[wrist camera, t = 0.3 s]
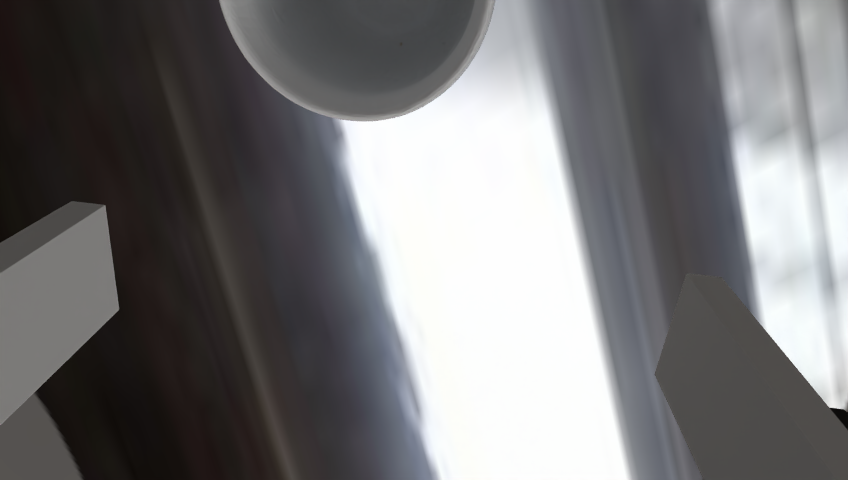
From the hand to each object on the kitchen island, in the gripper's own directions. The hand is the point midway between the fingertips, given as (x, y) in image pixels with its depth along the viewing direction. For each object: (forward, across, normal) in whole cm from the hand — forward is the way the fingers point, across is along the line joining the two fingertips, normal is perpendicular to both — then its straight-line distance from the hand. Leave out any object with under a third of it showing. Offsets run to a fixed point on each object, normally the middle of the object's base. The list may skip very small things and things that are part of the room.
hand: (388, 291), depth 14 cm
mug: (+26, -4, +6) cm, 27 cm away
